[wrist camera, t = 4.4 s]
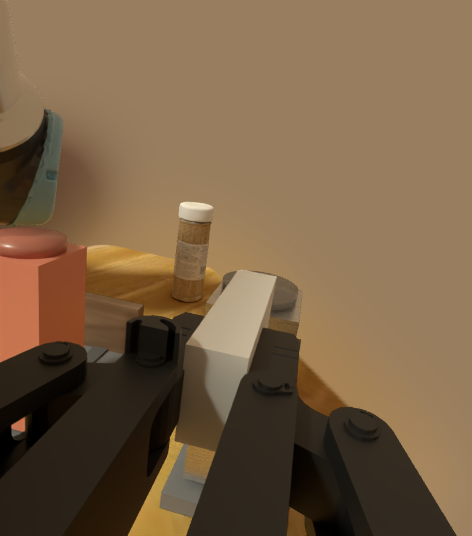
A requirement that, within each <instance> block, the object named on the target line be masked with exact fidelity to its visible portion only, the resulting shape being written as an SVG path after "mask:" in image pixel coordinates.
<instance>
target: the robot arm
mask: <svg viewBox="0 0 472 536" xmlns="http://www.w3.org/2000/svg"><path fill="white" fill-rule="evenodd" d="M62 132H63V119H62V117H61V116H60V115H59V114H57V113H54V112H52V111H51V110H47V109H44V107H43V102H42V99H41V96H40V94H39V92H38V90H37V88H36V87H35V86H34V85H33V83H32V82H31V81H30V80H29V79H27V78H26V77H25V76H24V75H22V74H21V73H20V72H19V69H18V62H17V55H16V49H15V43H14V36H13V29H12V23H11V16H10V10H9V3H8V0H0V225H7V226H16V225H41V224H44V223H46V222H47V221H48V220H50V218H51V217H52V215H53V210H54V205H55V197H56V188H57V178H58V169H59V162H60V153H61V143H62ZM276 278H277V276H272V275H267V274H261V273H256V272H251V271H246V270H241V269H239V270H238V271H237V273H236V274H235V275H234V277H233V278H232V280H231V281H230V282H229V284H228V285H227V287H226V288H225V289H224V291H223V292H222V294H221V295H220V297H219V298H218V299H217V301H216V302H215V304H214V305H213V306H212V308H211V309H210V311H209V312H208V313H207V315H206V316H201V315H197V314H192V313H187V312H185V313H183V314H180V315H178V316H176V317H174V318H173V319H169V318H166V317H162V316H154V315H152V316H140V317H136V318H132V319H131V320H129V321H127V322H126V338H125V353H124V354H123V355H122V356H121V357H120V358H119V359H118V360H117V361H116V362H115V363H90V362H87V352H86V349H85V348H83V347H82V346H80V345H79V344H75V343H71V342H66V341H64V342H63V341H56V342H51V343H45V344H42V345H39V346H36V347H34V348H31V349H29V350H27V351H25V352H22V353H20V354H18V355H16V356H13V357H11V358H9V359H7V360H4V361H2V362H0V536H128V534H129V532H130V530H131V528H132V526H133V524H134V522H135V520H136V518H137V516H138V514H139V512H140V510H141V508H142V506H143V504H144V502H145V500H146V497H147V495H148V493H149V491H150V489H151V487H152V485H153V483H154V481H155V479H156V477H157V475H158V473H159V471H160V469H161V467H162V465H163V463H164V461H165V459H166V457H167V455H168V450H169V442H170V436H171V434H172V432H173V430H174V429H175V427H176V434H175V441H176V442H180V443H184V444H188V445H192V446H195V447H199V448H203V449H207V450H210V451H214V452H215V455H214V458H213V461H212V464H211V466H210V469H209V472H208V475H207V478H206V481H205V484H204V486H203V489H202V492H201V495H200V498H199V501H198V504H197V506H196V509H195V512H194V515H193V518H192V521H191V524H190V527H189V529H188V532H187V535H186V536H286V534H287V522H288V510H289V506H290V507H291V508H293V509H295V510H296V511H298V512H300V513H301V514H303V515H305V529H306V533H307V536H456V534H455V532H454V531H453V529H452V527H451V526H450V524H449V523H448V521H447V519H446V517H445V516H444V514H443V513H442V511H441V509H440V508H439V506H438V504H437V503H436V501H435V499H434V498H433V496H432V494H431V493H430V491H429V490H428V488H427V486H426V485H425V483H424V482H423V480H422V478H421V476H420V475H419V473H418V471H417V470H416V468H415V466H414V465H413V464H412V462H411V460H410V458H409V457H408V455H407V453H406V452H405V450H404V449H403V447H402V445H401V443H400V442H399V440H398V439H397V437H396V435H395V434H394V432H393V430H392V429H391V428H390V427H389V426H388V425H387V423H385V422H384V421H383V420H382V419H380V418H379V417H377V416H376V415H374V414H372V413H370V412H367V411H365V410H362V409H358V408H353V407H340V408H338V409H336V410H333V411H332V413H331V414H330V416H329V417H327V416H325V415H323V414H321V413H319V412H317V411H315V410H313V409H311V408H310V407H309V406H307V405H306V404H305V403H304V402H303V401H302V400H301V399H300V398H299V396H298V391H297V387H296V383H297V372H298V361H299V349H300V342H299V341H298V339H297V338H296V336H295V335H294V334H291V333H287V332H282V331H277V330H273V329H268V323H269V317H270V312H271V306H272V301H273V295H274V290H275V284H276ZM24 417H25V431H23V432H22V433H20V434H18V435H16V436H12V427H11V425H13V424H14V423H16V422H18V421H19V420H21V419H22V418H24ZM176 425H177V426H176Z"/></svg>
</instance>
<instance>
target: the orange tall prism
mask: <svg viewBox="0 0 472 536" xmlns="http://www.w3.org/2000/svg"><path fill="white" fill-rule="evenodd" d="M86 258H87V247H85V246H79V245H75V244H70V243H67V236H66V235H64V234H63V233H61V232H58V231H53V230H49V229H41V228H9V229H1V230H0V362H2V361H4V360H7V359H9V358H11V357H13V356H16V355H18V354H20V353H22V352H25V351H27V350H29V349H31V348H34V347H36V346H39V345H42V344H45V343H51V342H56V341H63V342H64V341H66V342H71V343H75V344H79V345H80V346H82V347H83V348H84V329H85V293H86ZM11 427H12V429H14V430H18V431H21V432H23V431H25V417H24V418H22V419H21V420H19V421H18V422H16V423H14V424H13V425H11Z"/></svg>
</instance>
